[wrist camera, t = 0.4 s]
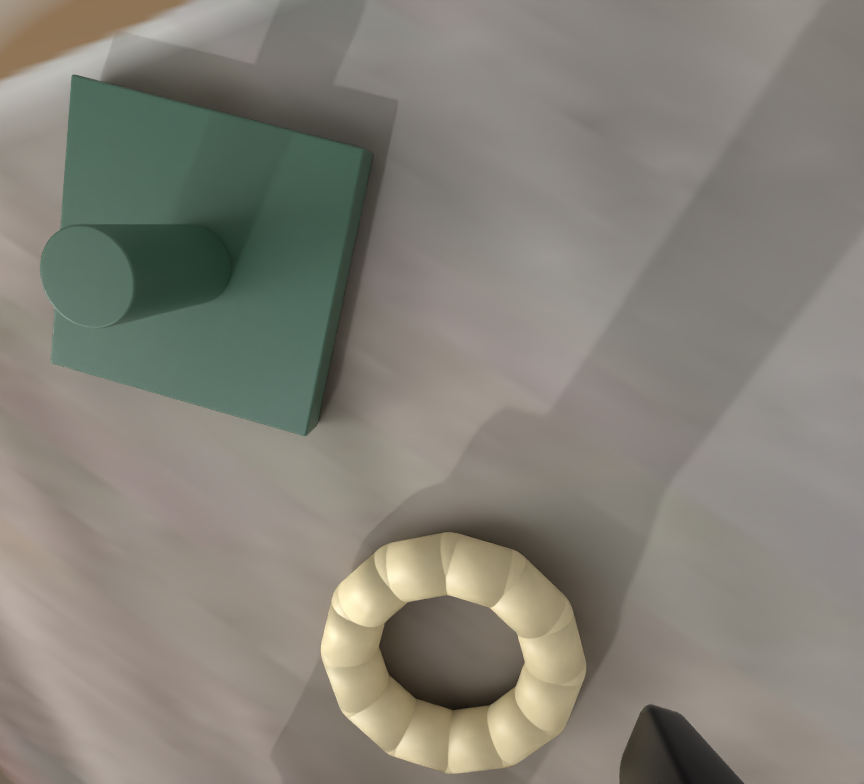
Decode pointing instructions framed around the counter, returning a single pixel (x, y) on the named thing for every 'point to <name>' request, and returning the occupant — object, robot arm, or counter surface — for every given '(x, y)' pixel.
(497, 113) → the counter surface
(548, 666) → the ring
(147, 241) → the stand
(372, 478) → the counter surface
